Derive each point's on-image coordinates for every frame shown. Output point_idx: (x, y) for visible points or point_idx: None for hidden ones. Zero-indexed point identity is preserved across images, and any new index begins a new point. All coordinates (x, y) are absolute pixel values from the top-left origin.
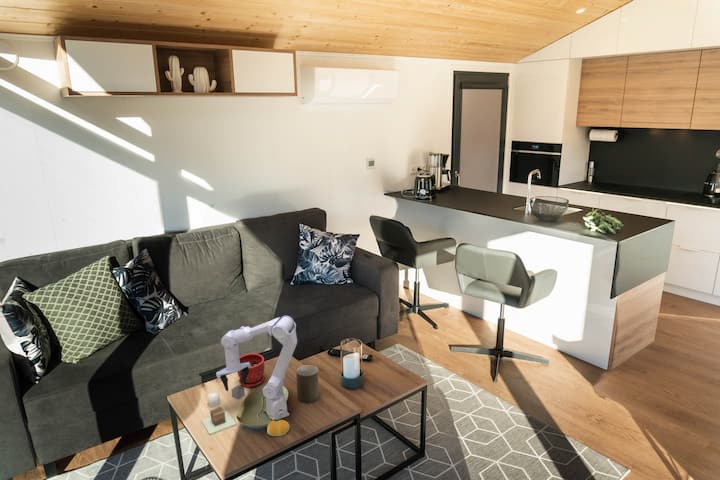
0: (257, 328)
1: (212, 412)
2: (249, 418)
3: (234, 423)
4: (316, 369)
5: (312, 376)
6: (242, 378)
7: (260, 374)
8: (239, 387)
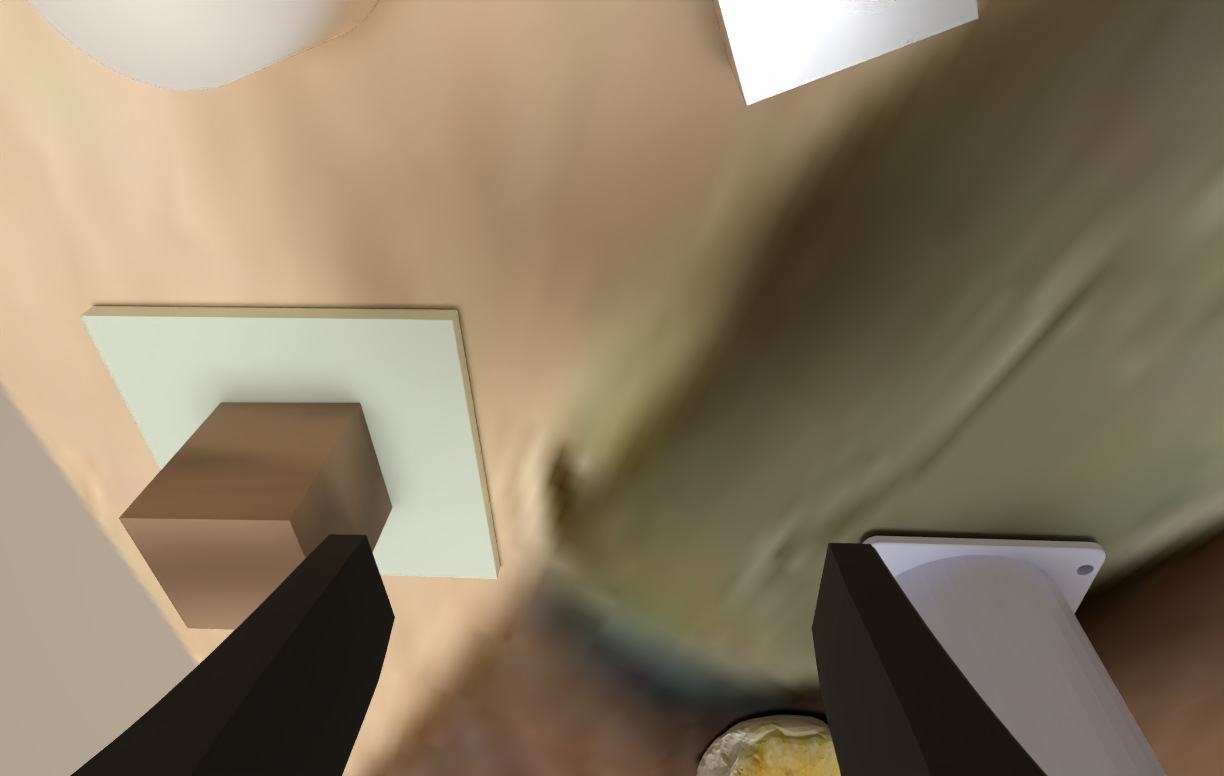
0: None
1: (162, 569)
2: (665, 549)
3: (482, 564)
4: None
5: None
6: (875, 737)
7: None
8: None
